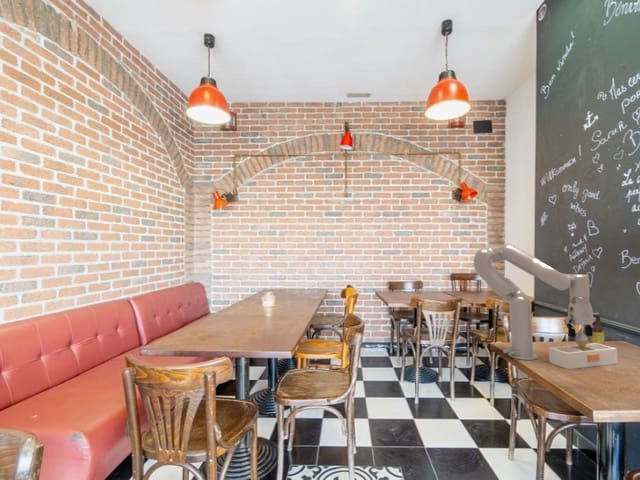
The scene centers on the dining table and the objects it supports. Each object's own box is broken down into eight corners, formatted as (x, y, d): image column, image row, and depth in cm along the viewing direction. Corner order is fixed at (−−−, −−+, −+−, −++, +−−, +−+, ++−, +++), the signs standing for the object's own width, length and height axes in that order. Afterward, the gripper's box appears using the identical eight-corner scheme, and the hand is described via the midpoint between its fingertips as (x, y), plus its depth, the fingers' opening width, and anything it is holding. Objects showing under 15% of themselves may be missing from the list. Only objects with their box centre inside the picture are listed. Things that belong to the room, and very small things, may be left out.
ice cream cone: (590, 363, 160) (589, 330, 160) (575, 361, 162) (574, 329, 163) (589, 359, 164) (587, 327, 165) (574, 357, 167) (573, 326, 168)
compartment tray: (569, 369, 155) (568, 354, 155) (549, 362, 165) (548, 347, 166) (619, 364, 160) (618, 348, 161) (596, 357, 171) (595, 343, 171)
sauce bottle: (608, 353, 176) (606, 314, 176) (594, 353, 177) (592, 314, 178) (601, 350, 182) (599, 312, 183) (587, 349, 183) (585, 312, 184)
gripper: (571, 302, 159) (572, 339, 158) (602, 300, 162) (603, 337, 162) (557, 299, 166) (558, 335, 166) (587, 298, 170) (587, 333, 169)
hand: (580, 336), depth 164 cm, fingers open, 9 cm apart
